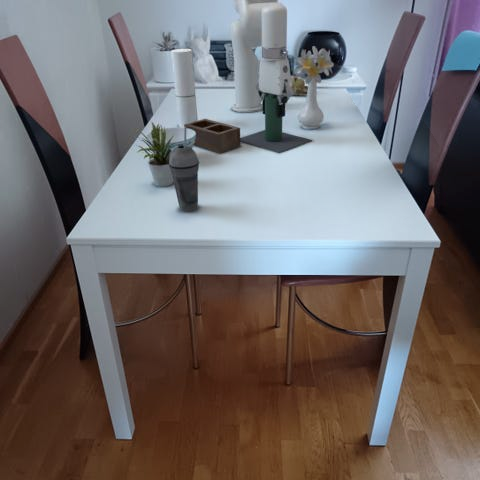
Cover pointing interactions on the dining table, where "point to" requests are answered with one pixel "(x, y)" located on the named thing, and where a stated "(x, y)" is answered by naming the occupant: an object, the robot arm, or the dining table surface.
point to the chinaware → (176, 138)
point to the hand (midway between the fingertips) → (273, 114)
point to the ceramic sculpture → (298, 85)
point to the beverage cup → (185, 176)
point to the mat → (281, 146)
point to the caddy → (215, 135)
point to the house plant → (159, 157)
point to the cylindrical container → (184, 86)
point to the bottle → (272, 119)
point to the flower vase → (313, 84)
